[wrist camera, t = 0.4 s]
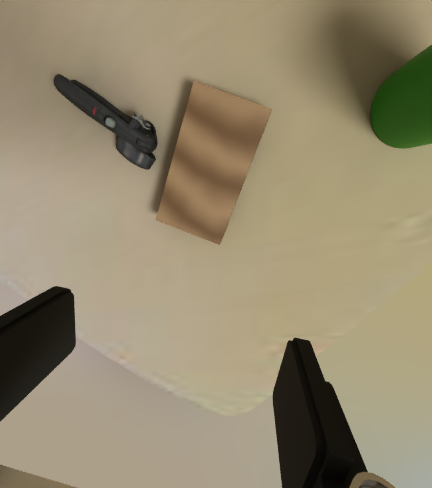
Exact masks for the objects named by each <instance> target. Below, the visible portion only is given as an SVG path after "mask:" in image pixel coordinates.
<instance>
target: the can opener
mask: <svg viewBox="0 0 432 488" xmlns="http://www.w3.org/2000/svg"><path fill="white" fill-rule="evenodd" d="M54 85H55V87H56V88H57V90H58V91H59V92H60V93H61V94H62V95H64V96H65V97H66V98H67V99H68V100H69V101H71V102H72V103H73V104H74V105H76V106H77V107H78V108H79V109H81V110H82V111H83V112H85V113H86V114H87V115H89V116H90V117H92V118H93V119H94V120H96V121H97V122H99V123H100V124H102V125H103V126H104V127H106V128H107V129H109V130H111V131H112V132H114V133H115V134H117V142H116V148H117V150H118V151H119V152H120V153H121V154H122V155H123V156H124V157H125V158H126V159H127V160H129V161H130V162H132V163H133V164H135V165H137V166H138V167H141V168H144V169H150V168H151V166H152V165H153V163H154V161H155V160H156V158H155V156H154V155H153V154H152V151H154V150H155V149H156V147H157V136H156V130H155V127H154V126H153V124H152V123H150V122H148V121H145V120H144V119H143V115H142V114H141V116H140V115H139V114H137V113H135V112H134V116H132V118H130V117H129V116H127V115H125V114H124V113H123V112H121V111H120V110H118V109H117V108H116V107H114V106H113V105H112V104H110V103H109V102H108V101H107V100H105V99H104V98H103V97H101V96H100V95H98V94H97V93H96V92H94V91H93V90H91V89H90V88H88V87H86V86H85V85H83V84H81V83H80V82H78V81H76V80H71V81H70V80H68V79H67V78H65V77H64V76H62V75H59V74H57V75H56V76H55V78H54Z"/></svg>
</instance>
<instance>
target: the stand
mask: <svg viewBox="0 0 432 488" xmlns="http://www.w3.org/2000/svg"><path fill="white" fill-rule="evenodd" d="M271 110H272V109H270V108H268V107H265V106H262V105H259V104H257V103H254V102H251V101H248V100H246V99H243V98H240V97H238V96H235V95H232V94H229V93H227V92H224V91H221V90H218V89H216V88H213V87H210V86H208V85H205V84H202V83H199V82H197V81H194V82H193V85H192V89H191V93H190V96H189V100H188V104H187V107H186V111H185V114H184V118H183V122H182V125H181V129H180V133H179V136H178V140H177V144H176V147H175V151H174V155H173V158H172V162H171V165H170V169H169V173H168V176H167V180H166V184H165V187H164V191H163V195H162V198H161V202H160V206H159V209H158V213H157V216H156V220H157V221H160V222H162V223H165V224H167V225H170V226H173V227H175V228H178V229H180V230H183V231H185V232H188V233H191V234H193V235H196V236H198V237H201V238H203V239H206V240H209V241H211V242H214V243H216V244H219V245H220V243H221V241H222V238H223V236H224V233H225V231H226V228H227V225H228V222H229V220H230V217H231V215H232V212H233V209H234V207H235V204H236V201H237V199H238V196H239V194H240V191H241V189H242V186H243V184H244V181H245V179H246V176H247V173H248V170H249V168H250V165H251V162H252V160H253V157H254V155H255V152H256V149H257V147H258V144H259V142H260V139H261V137H262V134H263V132H264V129H265V127H266V124H267V121H268V118H269V116H270V113H271Z"/></svg>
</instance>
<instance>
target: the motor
mask: <svg viewBox="0 0 432 488" xmlns="http://www.w3.org/2000/svg"><path fill="white" fill-rule="evenodd" d="M371 124H372V127H373V130H374V132H375V134H376V135H377V137H378V138H379V139H380V140H381V141H382V142H384V143H385V144H387V145H389V146H392V147H395V148H412V147H417V146H422V145H427V144H431V143H432V45H430V46H429V47H428V48H426V49H425V50H424V51H422V52H421V53H420V54H418V55H417V56H415V57H414V58H413V59H411V60H410V61H409V62H407V63H406V64H405V65H403V66H402V67H401V68H399V69H398V70H397V71H395V72H394V73H393V74H391V75H390V76H389V77H388V78H387V79H386V80H385V81H384V82H383V84H382V85H381V86H380V88H379V89H378V91H377V93H376V95H375V97H374V100H373V103H372V107H371Z"/></svg>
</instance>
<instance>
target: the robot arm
mask: <svg viewBox="0 0 432 488" xmlns="http://www.w3.org/2000/svg"><path fill="white" fill-rule="evenodd" d="M75 344H76V338H75V312H74V295H73V293H71V290H70V289H67V288H63V287H58V286H55V287H52V288H50V289H49V290H47V291H45V292H43V293H41V294H39V295H38V296H36V297H34V298H32V299H30V300H29V301H27V302H25V303H23V304H22V305H20V306H18V307H16V308H14V309H12V310H10V311H9V312H7V313H5V314H3V315H1V316H0V421H1V420H2V419H3V418H4V417H5V416H6V415H7V414H9V412H10V411H12V410H13V409H14V407H16V406H17V405H18V404H19V403H20V402H21V401H22V400H23V399H24V398H25V397H26V396H27V395H28V394H29V393H30V392H31V391H32V390H33V389H34V388H35V387H36V386H37V385H38V384H39V383H40V382H41V381H42V380H43V379H44V378H45V377H47V375H49V374H50V373H51V372H52V370H54V368H56V367H57V366H58V365H59V364H60V363H61V362H62V361H63V360H64V359H65V358H66V357H67V356H68V355H69V354H70V353H71V352H72V351H73V349H74V347H75ZM273 407H274V416H275V425H276V434H277V444H278V452H279V462H280V471H281V480H282V488H395V487H394V486H393V485H391V484H390V483H389V482H387V481H386V480H385V479H383V478H381V477H380V476H378V475H375V474H373V473H368V471H367V469H366V467H365V464H364V462H363V459H362V457H361V454H360V452H359V449H358V447H357V444H356V442H355V440H354V437H353V435H352V432H351V430H350V427H349V425H348V422H347V420H346V418H345V415H344V413H343V410H342V408H341V405H340V403H339V400H338V398H337V395H336V393H335V391H334V388H333V386H332V385H331V384H330V383H329V382H326V381H325V379H324V377H323V374H322V372H321V369H320V366H319V364H318V361H317V358H316V356H315V353H314V351H313V348H312V345H311V343H310V341H308V340H304V339H299V338H294V339H293V341H290V340H289V341H288V343H287V346H286V350H285V353H284V356H283V360H282V363H281V367H280V370H279V373H278V377H277V380H276V384H275V387H274V391H273ZM0 488H76V487H73V486H70V485H67V484H63V483H60V482H57V481H53V480H50V479H47V478H43V477H40V476H36V475H33V474H30V473H26V472H23V471H20V470H16V469H13V468H9V467H6V466H3V465H0Z"/></svg>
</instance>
